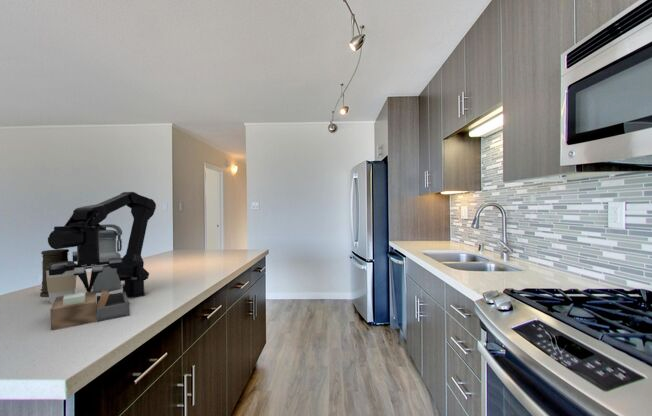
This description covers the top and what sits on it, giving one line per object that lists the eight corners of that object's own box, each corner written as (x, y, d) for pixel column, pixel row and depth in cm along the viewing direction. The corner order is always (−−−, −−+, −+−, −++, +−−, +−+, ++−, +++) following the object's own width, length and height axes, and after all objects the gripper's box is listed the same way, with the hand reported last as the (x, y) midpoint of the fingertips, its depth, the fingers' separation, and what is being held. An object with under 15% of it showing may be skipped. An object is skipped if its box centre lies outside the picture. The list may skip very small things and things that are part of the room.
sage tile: (85, 298, 92) (85, 292, 92) (85, 302, 88) (85, 295, 88) (64, 301, 89) (64, 295, 89) (62, 305, 85) (62, 299, 85)
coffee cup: (59, 297, 114) (58, 259, 114) (84, 297, 114) (83, 259, 114) (38, 305, 105) (37, 264, 105) (65, 304, 105) (64, 263, 105)
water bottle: (124, 285, 132) (123, 223, 132) (119, 290, 123) (118, 224, 123) (96, 288, 127) (95, 224, 127) (89, 293, 119) (88, 225, 119)
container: (35, 296, 117) (34, 251, 117) (62, 290, 125) (62, 248, 125) (48, 298, 113) (47, 252, 114) (75, 291, 122) (74, 249, 122)
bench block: (95, 308, 101) (95, 290, 101) (95, 321, 88) (95, 302, 88) (56, 315, 95) (56, 296, 95) (50, 330, 82) (50, 309, 82)
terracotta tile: (96, 304, 100) (103, 305, 101) (96, 307, 96) (103, 308, 97) (102, 290, 101) (109, 291, 102) (102, 292, 97) (109, 293, 98)
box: (125, 302, 106) (125, 291, 106) (129, 315, 93) (129, 303, 93) (97, 307, 101) (96, 296, 101) (97, 322, 88) (96, 308, 88)
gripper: (121, 240, 108) (121, 282, 108) (52, 245, 97) (53, 292, 97) (123, 243, 100) (123, 288, 100) (48, 248, 88) (49, 300, 88)
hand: (89, 291), depth 96 cm, fingers closed
